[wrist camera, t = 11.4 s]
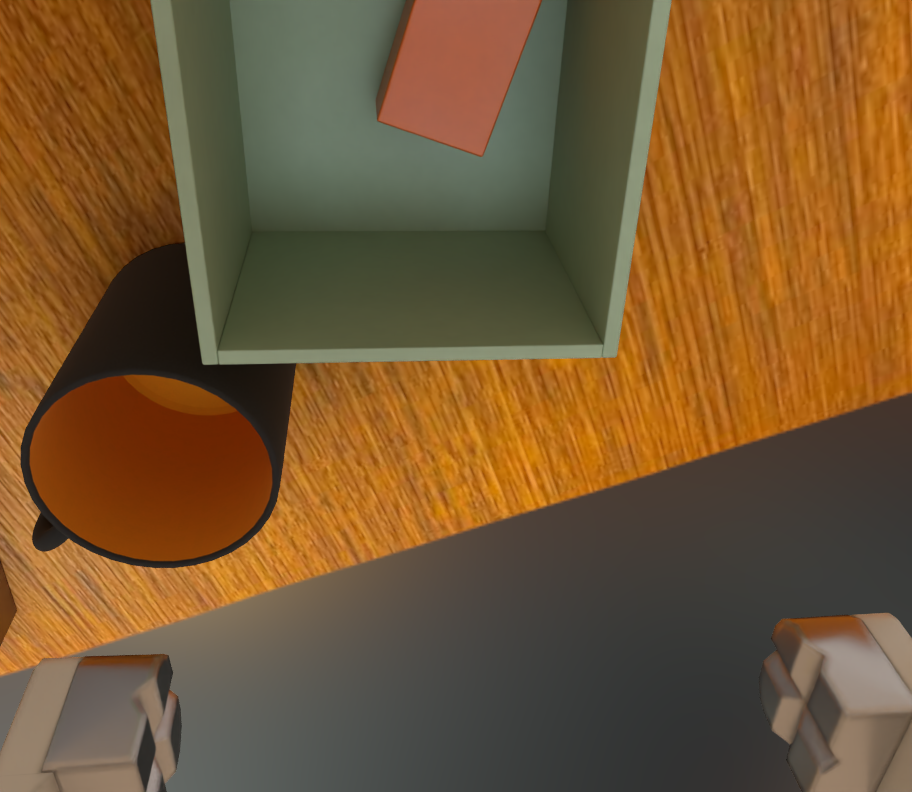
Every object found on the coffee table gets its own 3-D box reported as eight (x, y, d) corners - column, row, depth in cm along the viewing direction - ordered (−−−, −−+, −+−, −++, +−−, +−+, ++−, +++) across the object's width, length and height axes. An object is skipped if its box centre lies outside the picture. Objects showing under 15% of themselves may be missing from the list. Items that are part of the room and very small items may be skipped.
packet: (376, 121, 29) (374, 101, 32) (482, 158, 30) (473, 136, 33) (455, -134, 26) (446, -134, 28) (574, -82, 27) (555, -87, 29)
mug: (6, 377, 37) (-104, 535, 28) (192, 200, 34) (134, 318, 25) (157, 485, 41) (102, 654, 32) (338, 336, 37) (331, 479, 29)
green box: (195, -211, 27) (114, -249, 18) (596, -191, 28) (706, -218, 19) (242, 238, 35) (202, 365, 26) (553, 237, 36) (616, 358, 27)
